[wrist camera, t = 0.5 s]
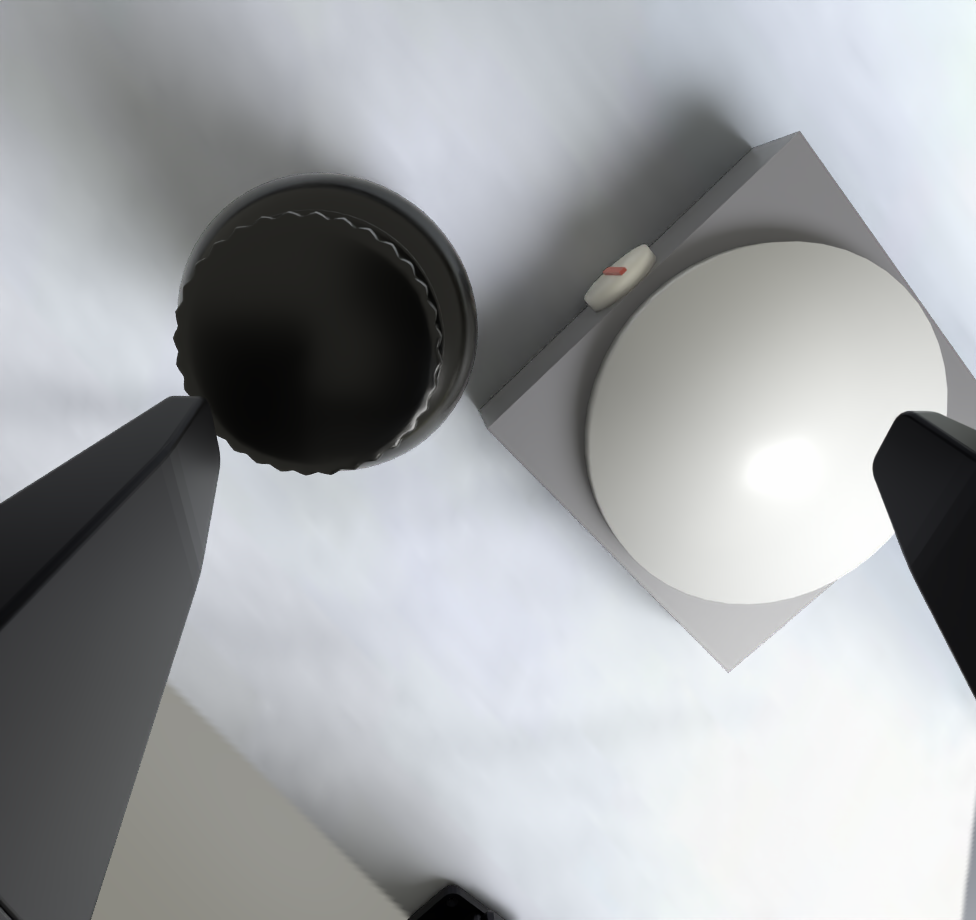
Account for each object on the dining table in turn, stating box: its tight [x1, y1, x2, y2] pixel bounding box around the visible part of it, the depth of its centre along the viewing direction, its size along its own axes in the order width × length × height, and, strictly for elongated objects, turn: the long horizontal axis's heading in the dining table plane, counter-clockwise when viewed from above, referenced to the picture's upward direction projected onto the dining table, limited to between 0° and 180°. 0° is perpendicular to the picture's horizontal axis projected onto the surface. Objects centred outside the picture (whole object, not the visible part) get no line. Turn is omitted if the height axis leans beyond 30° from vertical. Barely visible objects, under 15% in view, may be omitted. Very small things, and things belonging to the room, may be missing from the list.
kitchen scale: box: [479, 131, 976, 673], centre depth 24 cm, size 13×14×4 cm
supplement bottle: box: [173, 173, 478, 475], centre depth 18 cm, size 7×7×12 cm
